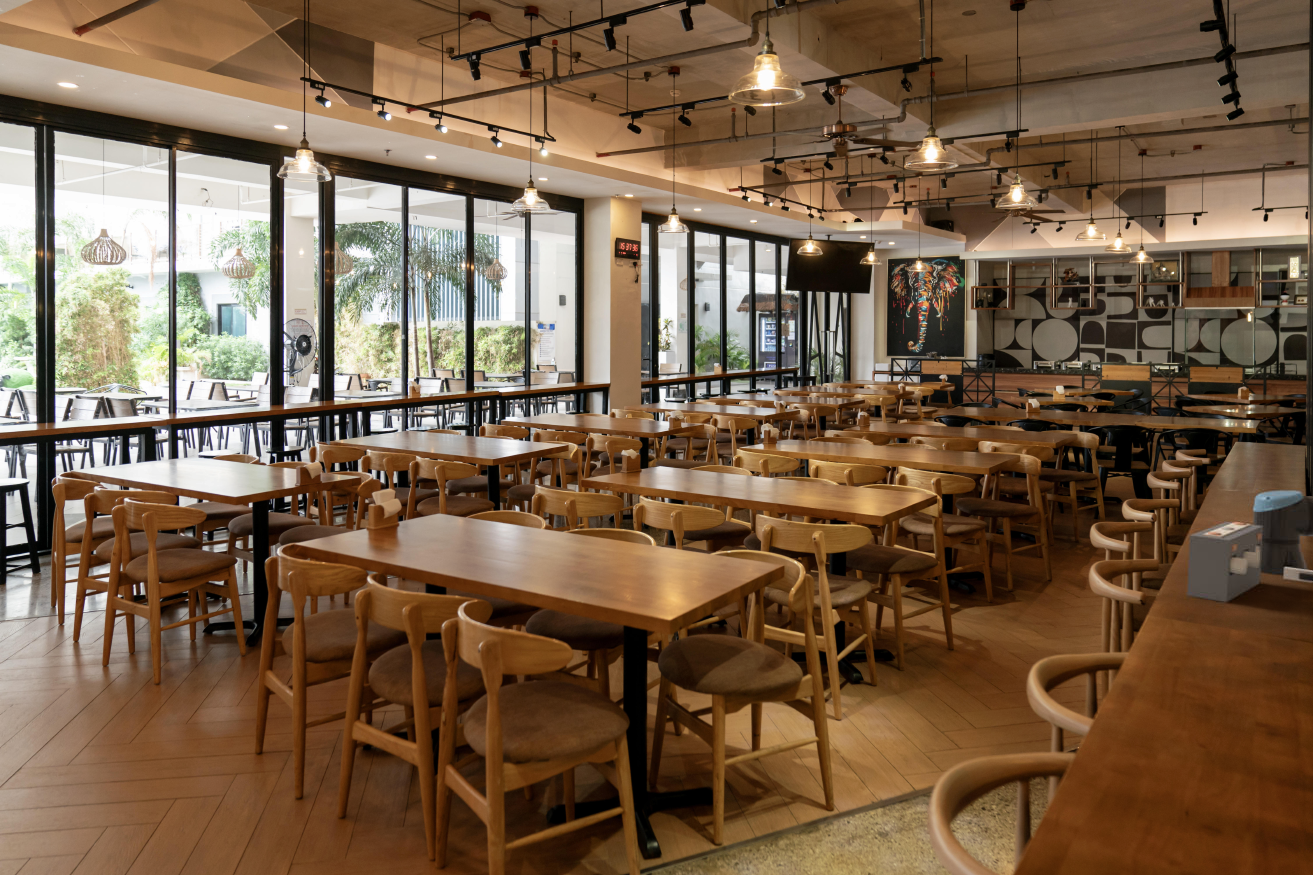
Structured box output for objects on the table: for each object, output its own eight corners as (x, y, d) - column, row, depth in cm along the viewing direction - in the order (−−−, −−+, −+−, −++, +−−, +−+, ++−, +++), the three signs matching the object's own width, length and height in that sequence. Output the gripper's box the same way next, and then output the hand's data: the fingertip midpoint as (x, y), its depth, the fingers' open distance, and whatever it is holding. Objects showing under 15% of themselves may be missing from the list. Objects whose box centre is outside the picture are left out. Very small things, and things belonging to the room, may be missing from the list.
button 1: (1222, 569, 234) (1223, 554, 234) (1247, 573, 230) (1247, 557, 229) (1217, 572, 231) (1218, 556, 231) (1242, 575, 227) (1243, 560, 227)
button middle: (1235, 563, 241) (1236, 548, 241) (1259, 566, 237) (1260, 551, 237) (1231, 565, 239) (1231, 550, 238) (1255, 569, 234) (1255, 554, 234)
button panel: (1223, 577, 255) (1225, 519, 254) (1261, 583, 248) (1264, 523, 247) (1187, 595, 235) (1190, 532, 234) (1227, 602, 228) (1230, 537, 227)
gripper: (1401, 611, 201) (1276, 591, 218) (1411, 600, 209) (1290, 583, 227) (1403, 578, 200) (1278, 561, 217) (1413, 569, 209) (1292, 553, 226)
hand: (1284, 572), depth 222 cm, fingers closed
